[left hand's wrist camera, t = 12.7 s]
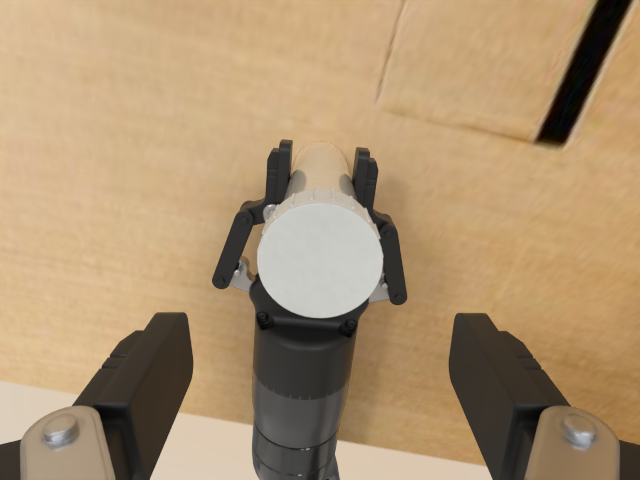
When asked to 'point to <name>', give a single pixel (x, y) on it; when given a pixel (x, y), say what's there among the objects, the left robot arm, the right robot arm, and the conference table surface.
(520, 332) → the conference table surface
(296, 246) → the lid
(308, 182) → the white bottle
